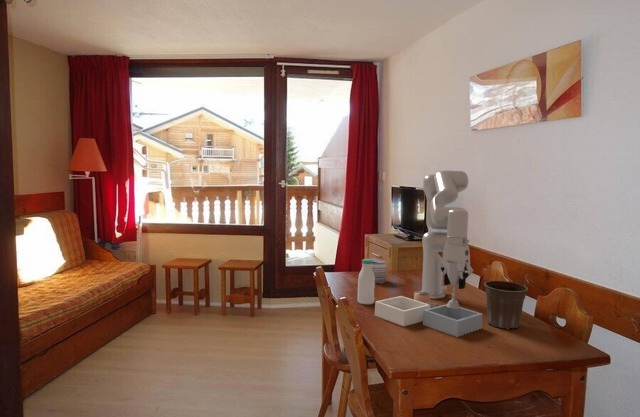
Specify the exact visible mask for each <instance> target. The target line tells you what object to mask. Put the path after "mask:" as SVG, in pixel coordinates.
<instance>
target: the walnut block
mask: <svg viewBox="0 0 640 417" xmlns="http://www.w3.org/2000/svg"><path fill="white" fill-rule="evenodd" d="M426 304H429V305H430V308H434V307H438V306H439V303H435V302H431V301H430V302H426Z"/></svg>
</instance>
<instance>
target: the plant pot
mask: <svg viewBox="0 0 640 417" xmlns="http://www.w3.org/2000/svg"><path fill="white" fill-rule="evenodd" d="M483 285H484V287H485V294H486V319H487V320H486V322H487V324H488V325H491V326H492V327H494V326H495V327H494V328H497V327H500V328H499V329H501V328H512V329H514V328H517V327H519V328H520V325H521V318H522V311H523V307H524V301H525V299H526V295H527V292H528V290H529V288H528V287H527V286H526V285H523V284H521V283H517V282H513V281H508V280H506V281H504V280H489V281H485V282H484V284H483ZM517 329H518V328H517Z"/></svg>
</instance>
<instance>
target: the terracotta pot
mask: <svg viewBox="0 0 640 417" xmlns="http://www.w3.org/2000/svg"><path fill="white" fill-rule="evenodd" d="M413 300H416V301H419V302H423V303H426V302H430V303H431V298H430V293H427V292H419V291H415V292H413Z"/></svg>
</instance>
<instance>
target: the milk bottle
mask: <svg viewBox="0 0 640 417" xmlns="http://www.w3.org/2000/svg"><path fill="white" fill-rule="evenodd" d="M371 259H372V258H363V259H362V260H361V266H362V267H361V270H360V272H359V274H358V277H357V278H358V281H357V303H358V304H361V305H372V304H375V292H376V290H375V289H376V287H375V286H376V283H375V276H374V273H373V270H372V260H371Z"/></svg>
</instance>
